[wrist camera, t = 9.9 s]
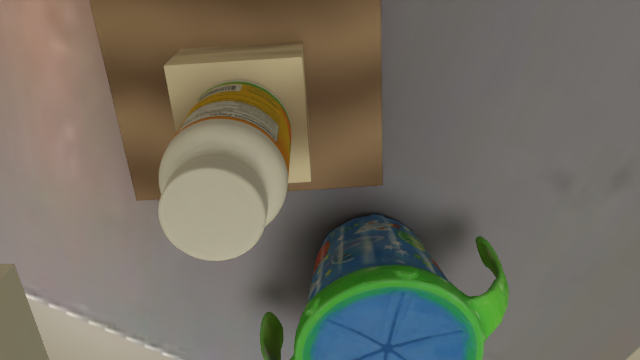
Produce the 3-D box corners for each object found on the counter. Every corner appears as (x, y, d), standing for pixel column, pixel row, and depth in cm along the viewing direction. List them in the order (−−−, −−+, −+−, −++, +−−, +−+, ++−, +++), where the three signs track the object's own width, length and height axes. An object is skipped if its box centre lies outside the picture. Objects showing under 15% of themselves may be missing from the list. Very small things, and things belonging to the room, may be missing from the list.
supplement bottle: (263, 189, 30) (244, 297, 21) (174, 144, 29) (116, 241, 20) (310, 109, 28) (311, 193, 19) (217, 58, 27) (173, 123, 18)
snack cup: (464, 162, 35) (519, 246, 26) (488, 286, 40) (542, 395, 31) (241, 223, 37) (220, 321, 28) (289, 335, 41) (283, 452, 32)
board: (90, -32, 30) (82, -30, 29) (377, -51, 30) (380, -50, 29) (141, 192, 36) (136, 200, 35) (380, 177, 36) (382, 185, 35)
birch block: (180, 48, 31) (163, 65, 27) (302, 41, 31) (301, 56, 27) (199, 161, 34) (186, 189, 30) (310, 154, 34) (311, 181, 30)
